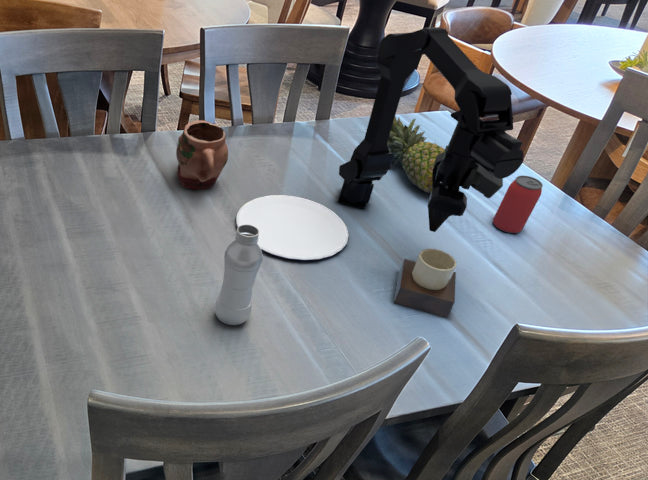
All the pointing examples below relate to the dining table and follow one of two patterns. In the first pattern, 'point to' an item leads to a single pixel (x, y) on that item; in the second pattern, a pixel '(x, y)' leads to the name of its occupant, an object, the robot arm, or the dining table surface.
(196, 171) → the decorative planter
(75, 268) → the dining table surface
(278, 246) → the plate
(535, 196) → the beer can
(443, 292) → the riser
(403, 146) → the fruit
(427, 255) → the bowl
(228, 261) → the plastic bottle
